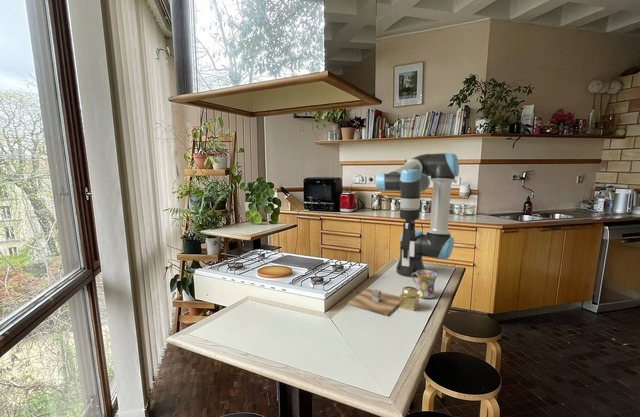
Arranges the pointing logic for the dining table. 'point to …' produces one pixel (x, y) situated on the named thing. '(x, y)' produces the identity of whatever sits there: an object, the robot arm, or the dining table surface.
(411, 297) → the knob
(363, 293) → the plate
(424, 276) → the mug
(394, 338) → the dining table surface
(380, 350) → the dining table surface
